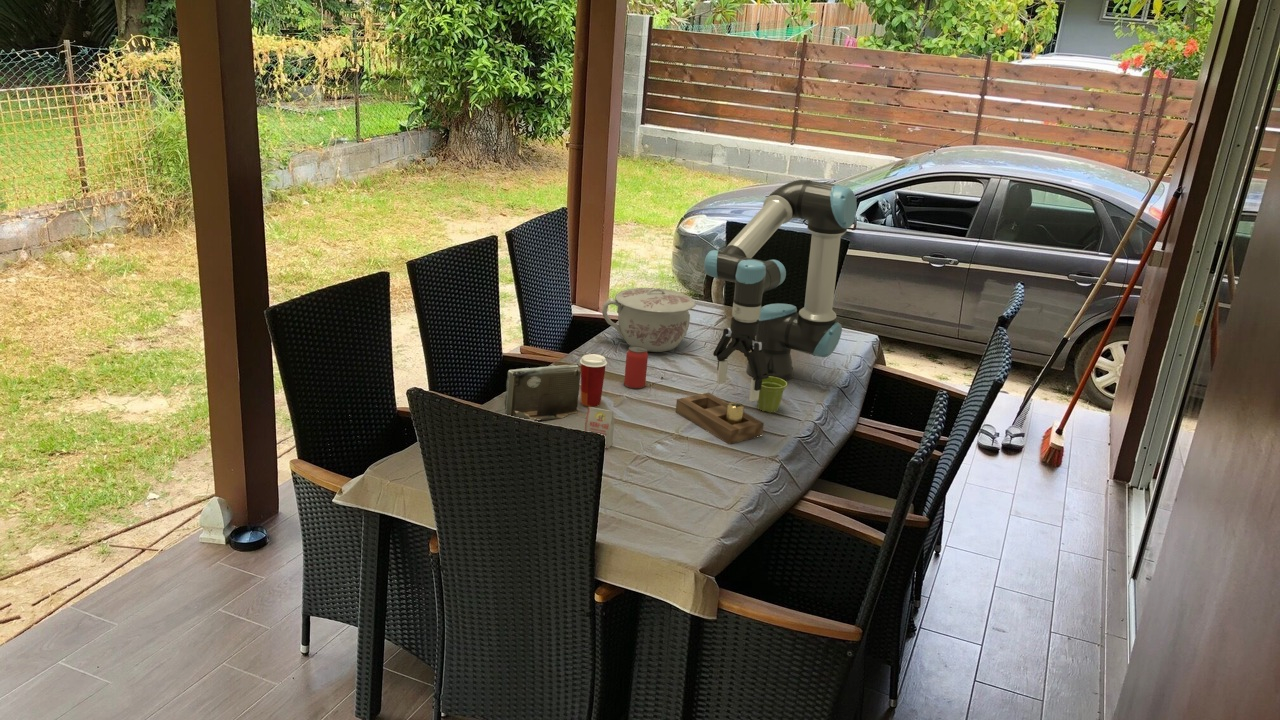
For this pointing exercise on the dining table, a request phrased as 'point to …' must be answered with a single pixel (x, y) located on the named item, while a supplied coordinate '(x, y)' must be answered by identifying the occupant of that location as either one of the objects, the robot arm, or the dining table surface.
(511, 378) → the radio
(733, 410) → the brass bushing
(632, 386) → the beer can
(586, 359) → the paper cup
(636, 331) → the chamber pot
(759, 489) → the dining table surface
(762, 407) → the plant pot
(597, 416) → the tea bag
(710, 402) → the frame
